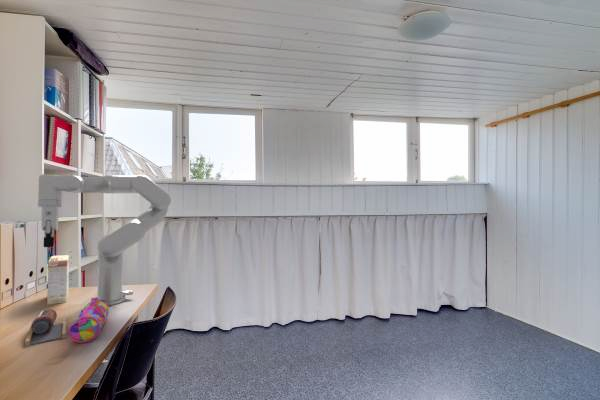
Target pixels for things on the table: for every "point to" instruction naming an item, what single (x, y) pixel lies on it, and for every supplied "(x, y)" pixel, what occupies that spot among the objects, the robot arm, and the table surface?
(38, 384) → the table surface
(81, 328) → the pencil case
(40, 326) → the supplement bottle
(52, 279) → the coffeecake box
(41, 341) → the cradle mat
